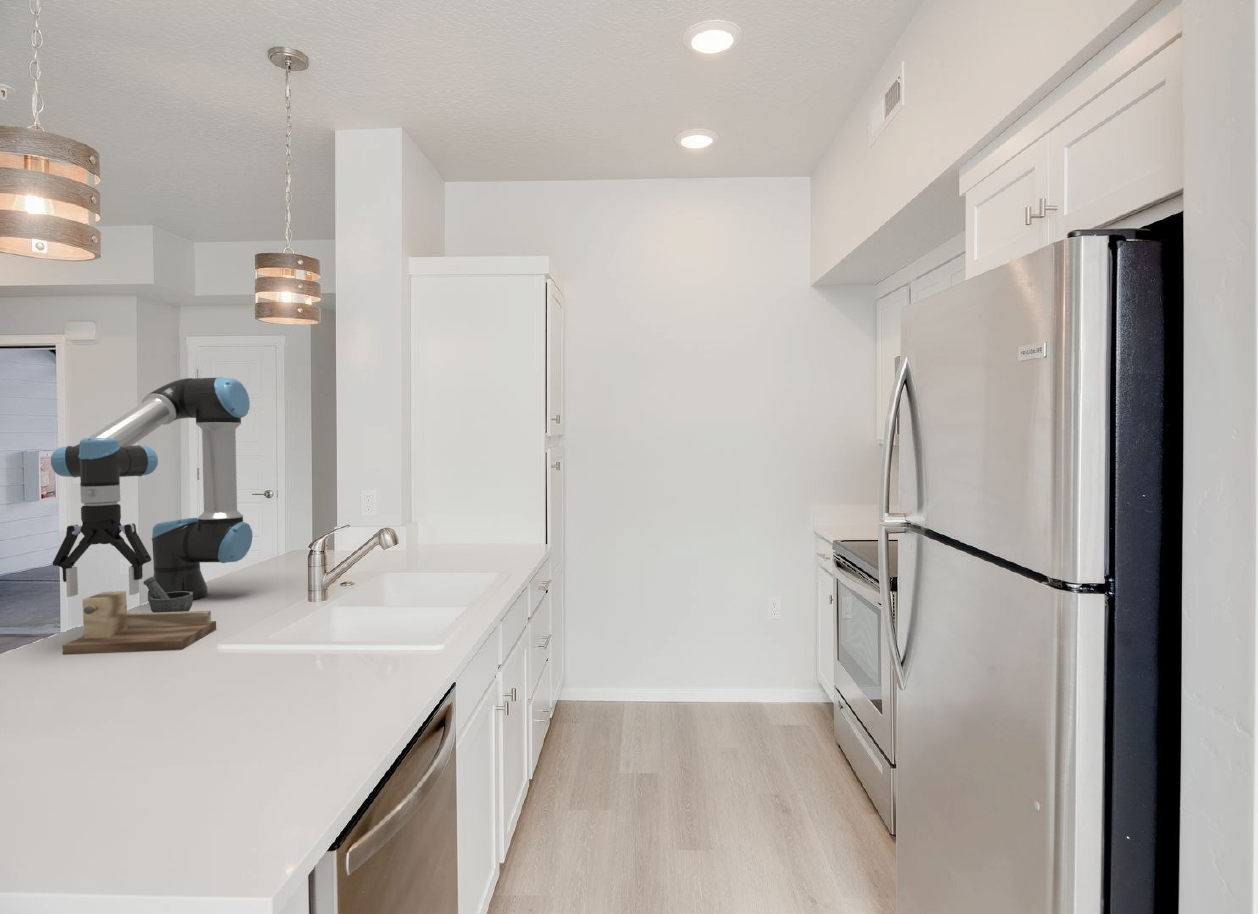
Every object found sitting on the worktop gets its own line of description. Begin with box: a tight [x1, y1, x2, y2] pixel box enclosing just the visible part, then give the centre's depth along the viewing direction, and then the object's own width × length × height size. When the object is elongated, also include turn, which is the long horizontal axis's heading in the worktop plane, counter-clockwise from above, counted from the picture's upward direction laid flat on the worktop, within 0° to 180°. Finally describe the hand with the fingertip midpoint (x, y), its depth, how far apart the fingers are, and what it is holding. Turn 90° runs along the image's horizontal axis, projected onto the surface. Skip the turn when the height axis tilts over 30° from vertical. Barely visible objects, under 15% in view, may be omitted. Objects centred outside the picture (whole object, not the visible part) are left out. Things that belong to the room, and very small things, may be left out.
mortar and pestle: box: [142, 576, 194, 613], centre depth 190 cm, size 11×9×12 cm
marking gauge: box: [82, 590, 128, 639], centre depth 172 cm, size 12×5×9 cm, turn 6°
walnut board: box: [62, 610, 217, 655], centre depth 173 cm, size 17×25×5 cm
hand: (103, 594), depth 172 cm, fingers open, 13 cm apart
